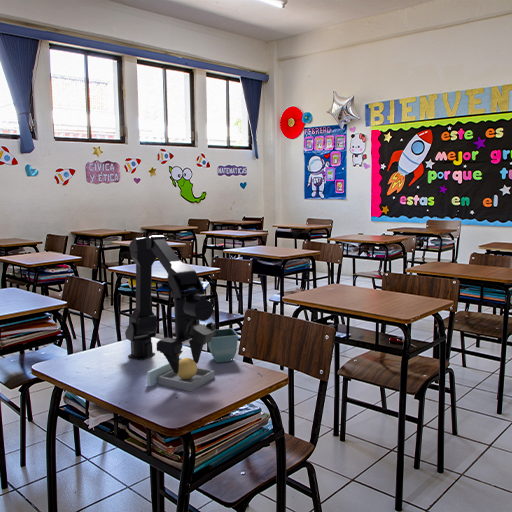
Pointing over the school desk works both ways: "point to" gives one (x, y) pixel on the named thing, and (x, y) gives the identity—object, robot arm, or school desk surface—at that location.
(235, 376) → the school desk surface
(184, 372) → the ball
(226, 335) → the flower pot
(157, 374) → the wall
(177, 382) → the dish
